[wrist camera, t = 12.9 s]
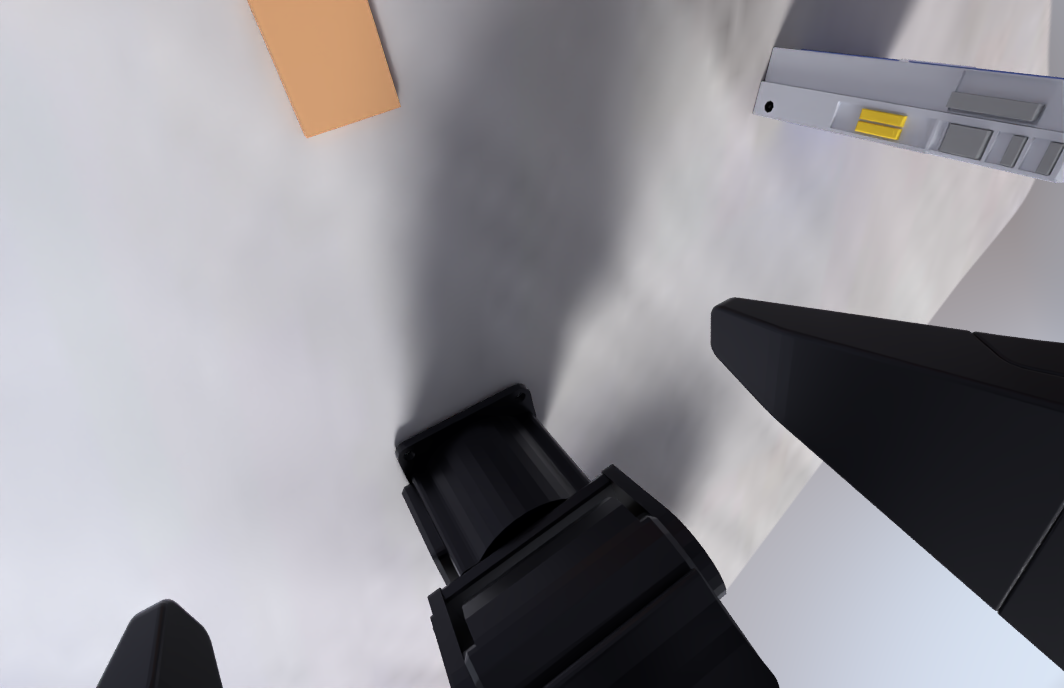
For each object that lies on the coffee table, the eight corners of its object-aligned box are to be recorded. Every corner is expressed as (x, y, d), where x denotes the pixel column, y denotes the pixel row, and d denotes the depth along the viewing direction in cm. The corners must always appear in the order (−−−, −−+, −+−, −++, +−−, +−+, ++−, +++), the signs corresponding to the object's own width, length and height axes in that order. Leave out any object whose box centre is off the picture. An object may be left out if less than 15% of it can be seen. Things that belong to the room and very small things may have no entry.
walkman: (880, 56, 28) (1217, 93, 19) (858, 117, 29) (1164, 178, 20) (769, 44, 24) (1122, 82, 15) (750, 114, 26) (1065, 186, 17)
